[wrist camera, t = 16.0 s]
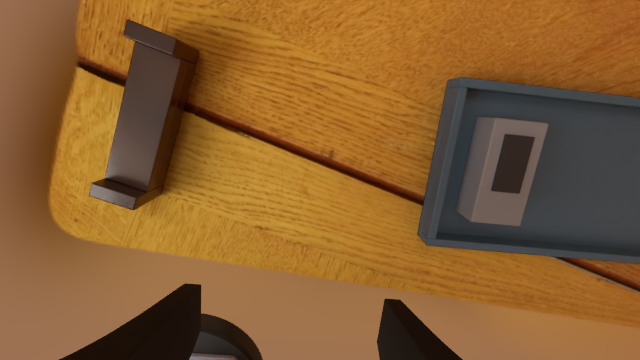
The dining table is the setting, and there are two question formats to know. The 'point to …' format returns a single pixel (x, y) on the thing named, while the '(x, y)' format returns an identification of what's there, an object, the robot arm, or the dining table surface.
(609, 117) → the tray
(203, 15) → the dining table surface
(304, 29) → the dining table surface
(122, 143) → the brown drawer handle
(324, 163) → the dining table surface
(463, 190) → the grey block
